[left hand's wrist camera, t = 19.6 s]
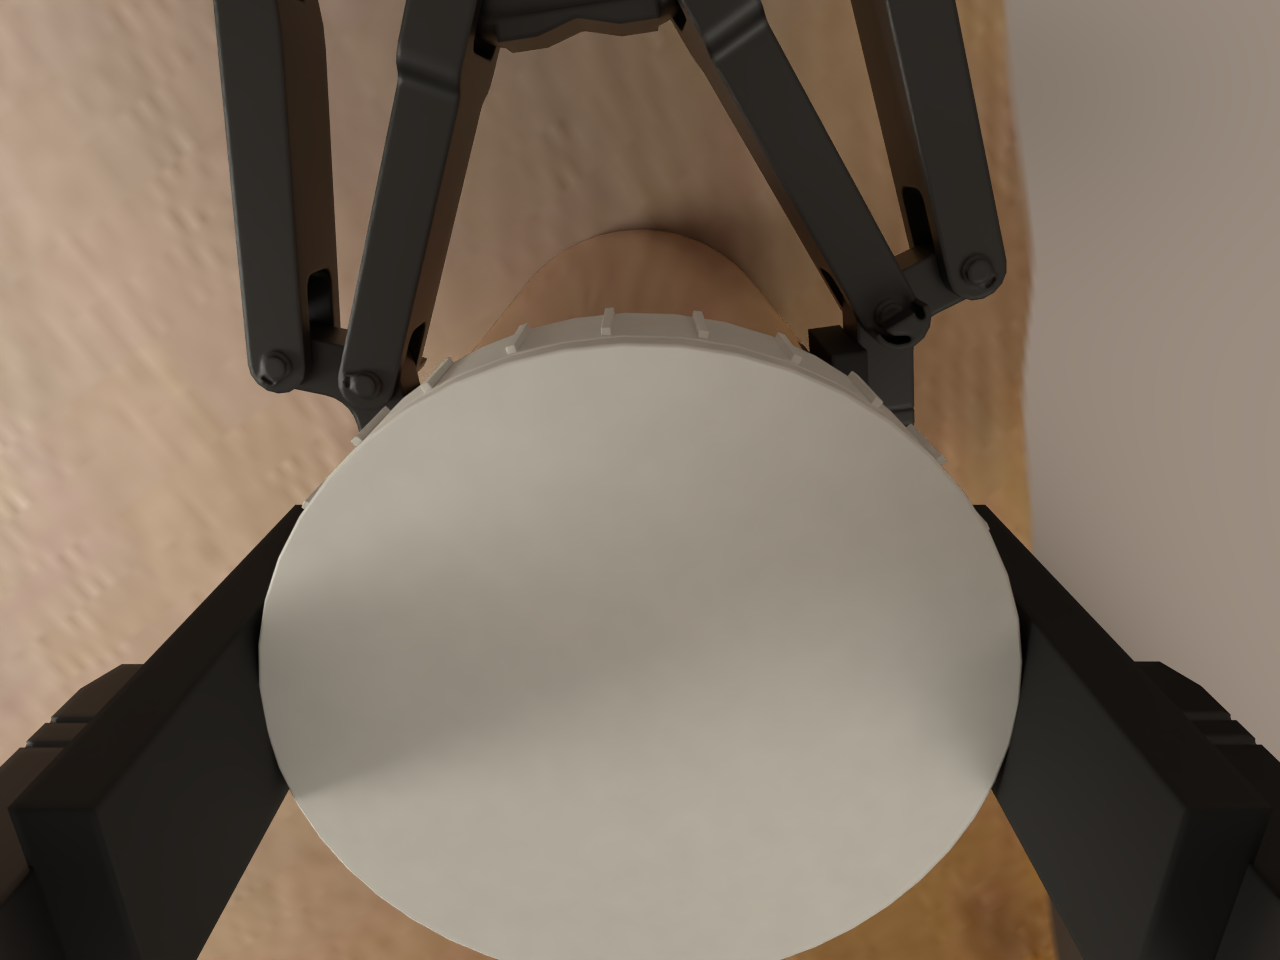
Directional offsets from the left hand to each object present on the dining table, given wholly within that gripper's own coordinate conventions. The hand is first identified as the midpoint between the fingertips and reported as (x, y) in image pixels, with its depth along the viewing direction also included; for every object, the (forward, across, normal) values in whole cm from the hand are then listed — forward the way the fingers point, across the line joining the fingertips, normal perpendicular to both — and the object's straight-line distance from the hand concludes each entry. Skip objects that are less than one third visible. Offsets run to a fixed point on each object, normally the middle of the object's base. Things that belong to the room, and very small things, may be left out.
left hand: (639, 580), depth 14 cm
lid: (-3, 0, 0) cm, 3 cm away
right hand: (+7, +1, -5) cm, 8 cm away
